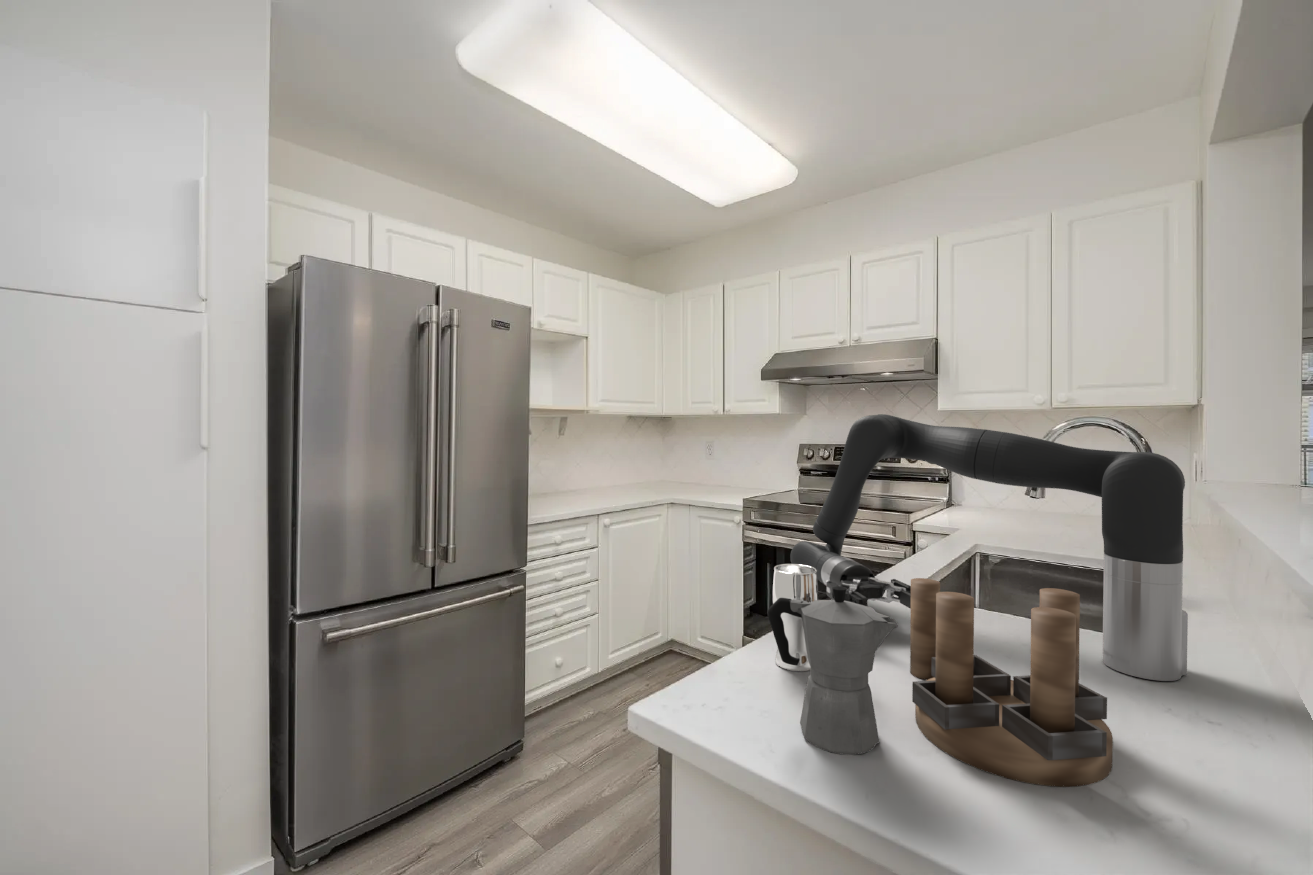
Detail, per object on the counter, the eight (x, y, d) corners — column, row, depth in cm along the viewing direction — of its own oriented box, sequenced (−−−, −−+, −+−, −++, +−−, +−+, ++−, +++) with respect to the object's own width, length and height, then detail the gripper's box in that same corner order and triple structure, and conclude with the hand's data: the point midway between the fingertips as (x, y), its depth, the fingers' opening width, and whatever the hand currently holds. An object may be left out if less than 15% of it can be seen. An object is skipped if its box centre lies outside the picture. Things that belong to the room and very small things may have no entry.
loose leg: (929, 668, 88) (930, 577, 88) (945, 679, 84) (946, 584, 84) (904, 669, 87) (905, 578, 87) (919, 680, 83) (920, 585, 83)
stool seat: (1020, 691, 80) (1022, 571, 80) (1164, 780, 60) (1166, 619, 60) (884, 699, 78) (885, 575, 77) (986, 793, 58) (987, 627, 57)
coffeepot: (901, 729, 70) (902, 584, 70) (892, 770, 62) (893, 605, 61) (778, 701, 77) (778, 569, 77) (755, 734, 69) (756, 586, 69)
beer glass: (819, 674, 85) (820, 575, 85) (772, 670, 87) (772, 572, 87) (816, 656, 92) (816, 564, 92) (772, 653, 94) (772, 562, 93)
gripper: (812, 560, 111) (849, 582, 95) (881, 558, 113) (929, 580, 96) (812, 598, 111) (849, 627, 95) (881, 596, 113) (929, 624, 97)
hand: (889, 603), depth 96 cm, fingers open, 8 cm apart
